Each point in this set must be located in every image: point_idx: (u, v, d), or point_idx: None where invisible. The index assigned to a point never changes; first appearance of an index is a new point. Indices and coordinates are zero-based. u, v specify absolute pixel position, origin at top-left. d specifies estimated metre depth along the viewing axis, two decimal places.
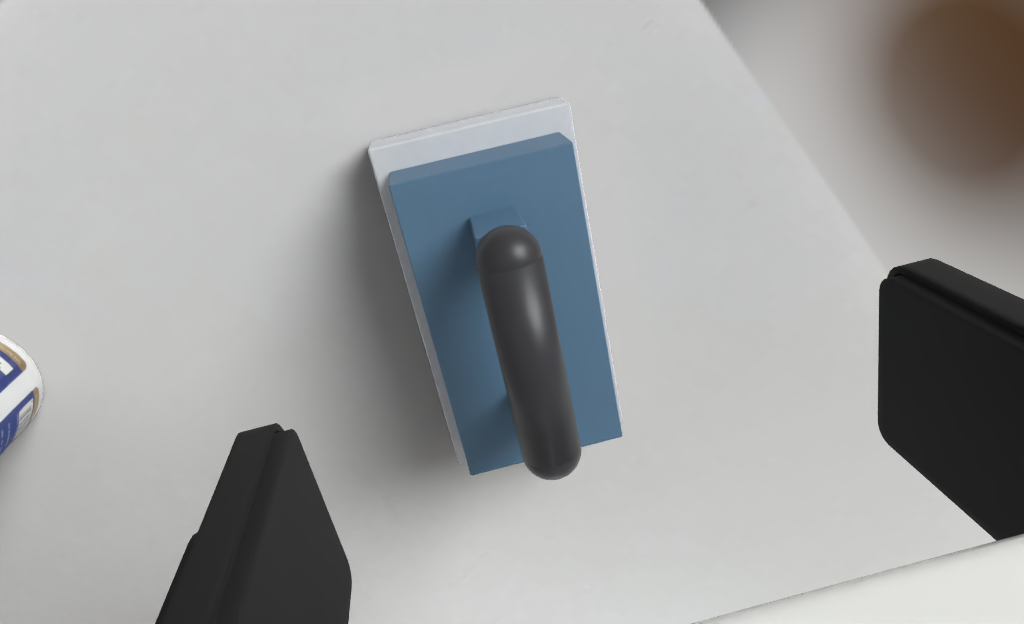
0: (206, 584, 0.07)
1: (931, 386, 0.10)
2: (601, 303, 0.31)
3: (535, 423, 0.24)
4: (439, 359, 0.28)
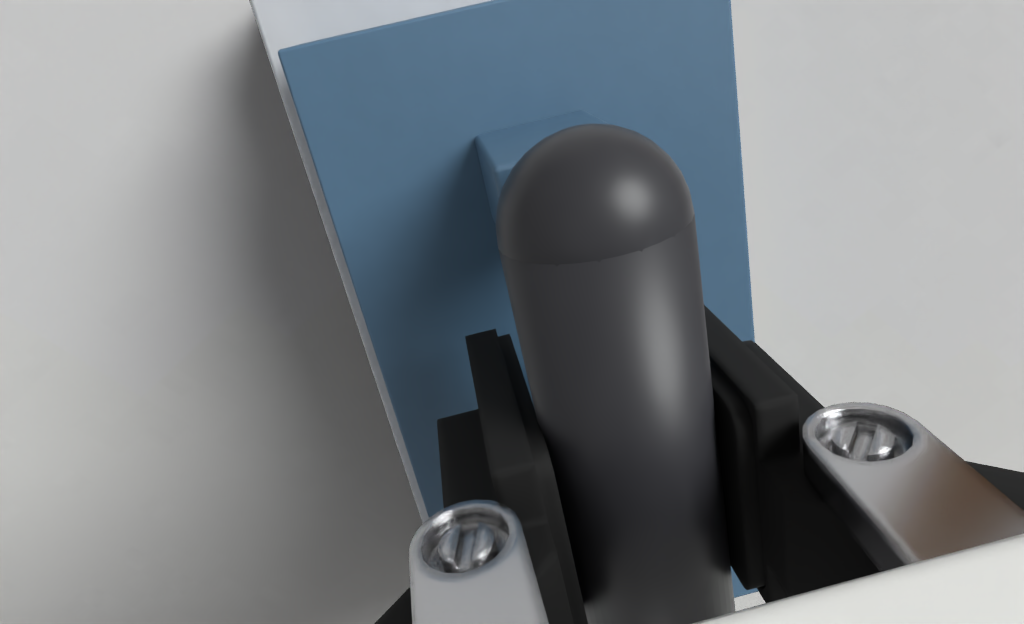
0: (510, 432, 0.08)
1: None
2: None
3: None
4: (411, 453, 0.13)
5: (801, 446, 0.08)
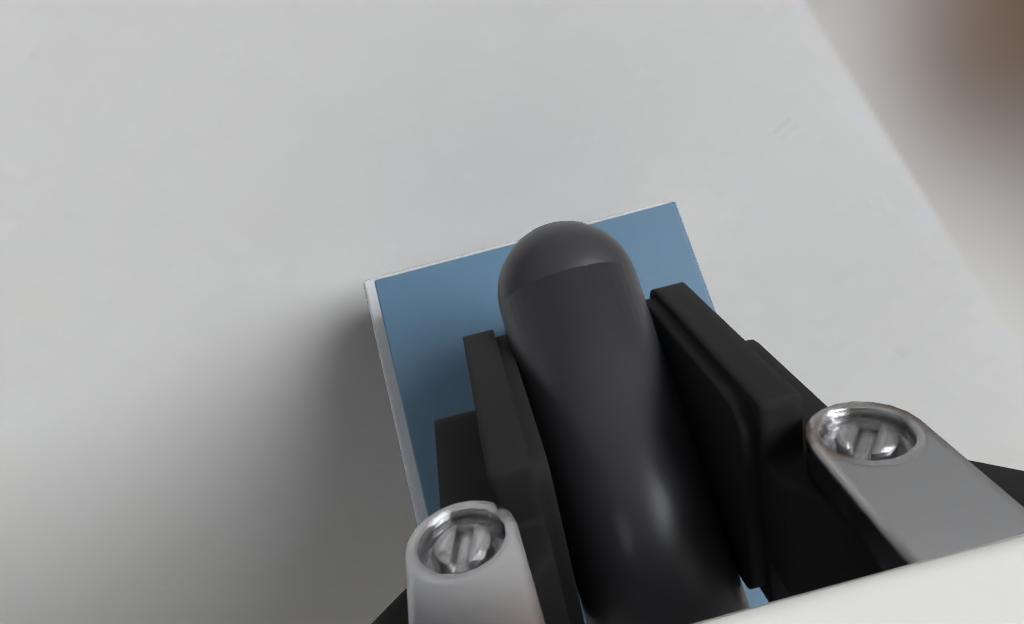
0: (507, 433, 0.08)
1: None
2: None
3: None
4: None
5: (804, 445, 0.08)
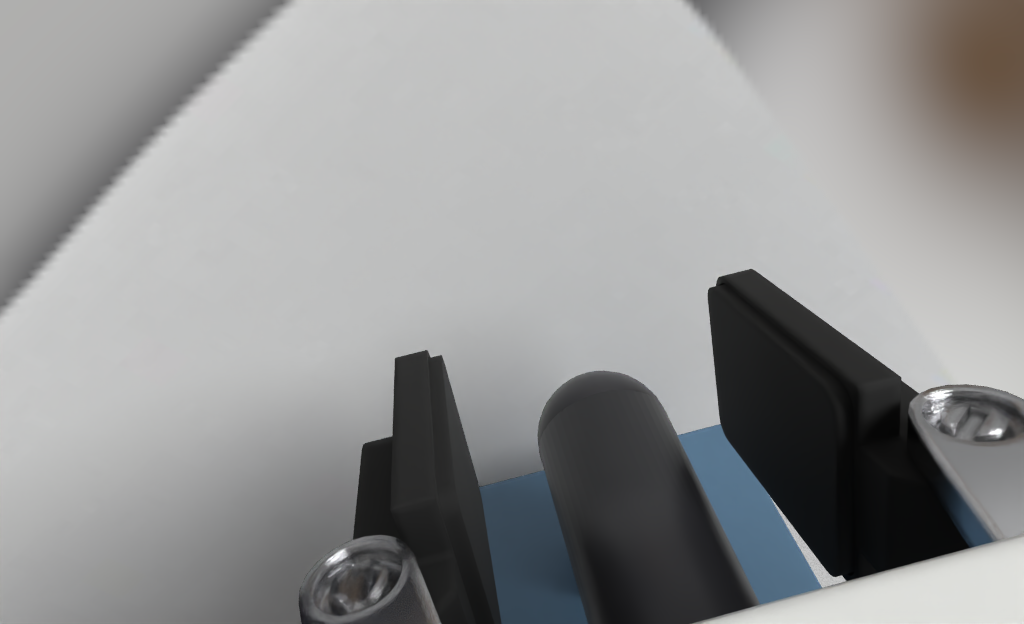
0: (419, 463, 0.08)
1: (744, 386, 0.11)
2: None
3: None
4: None
5: (900, 429, 0.08)
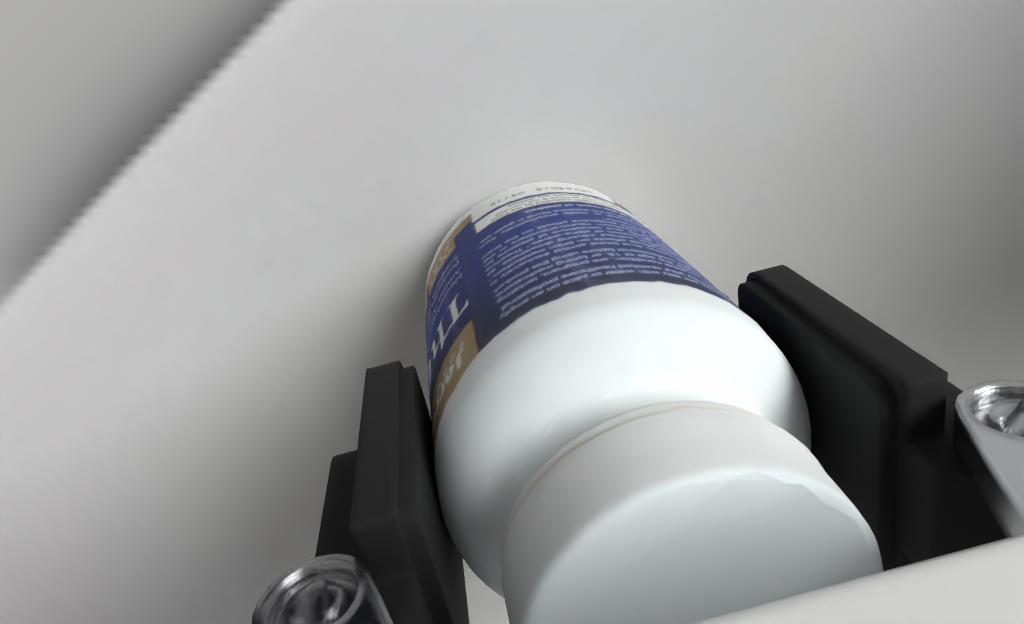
0: (381, 480, 0.08)
1: None
2: None
3: None
4: None
5: (944, 426, 0.08)
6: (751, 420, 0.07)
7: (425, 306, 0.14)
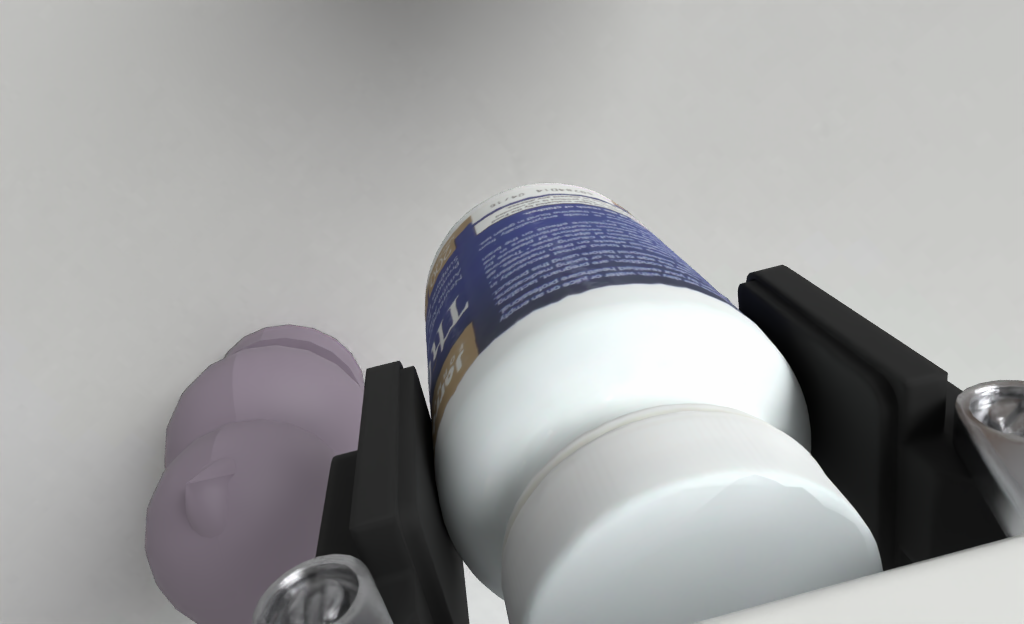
0: (381, 480, 0.08)
1: None
2: None
3: None
4: None
5: (944, 426, 0.08)
6: (751, 423, 0.07)
7: (425, 308, 0.14)
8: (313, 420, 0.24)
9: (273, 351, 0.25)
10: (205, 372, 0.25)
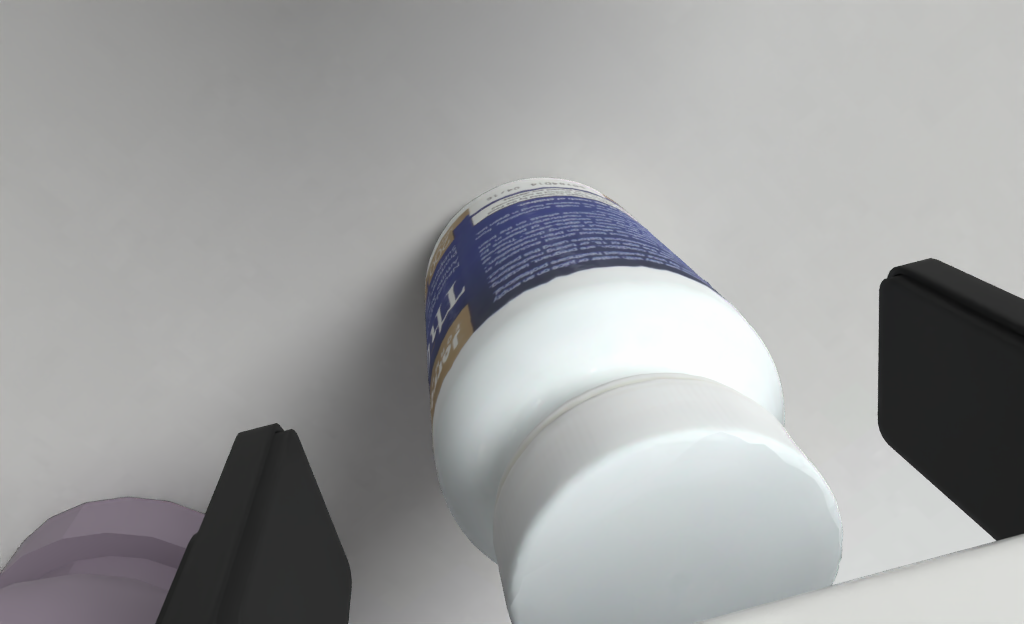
0: (206, 584, 0.07)
1: (931, 386, 0.10)
2: None
3: None
4: None
5: None
6: (721, 390, 0.08)
7: (425, 296, 0.15)
8: None
9: (37, 610, 0.13)
10: None
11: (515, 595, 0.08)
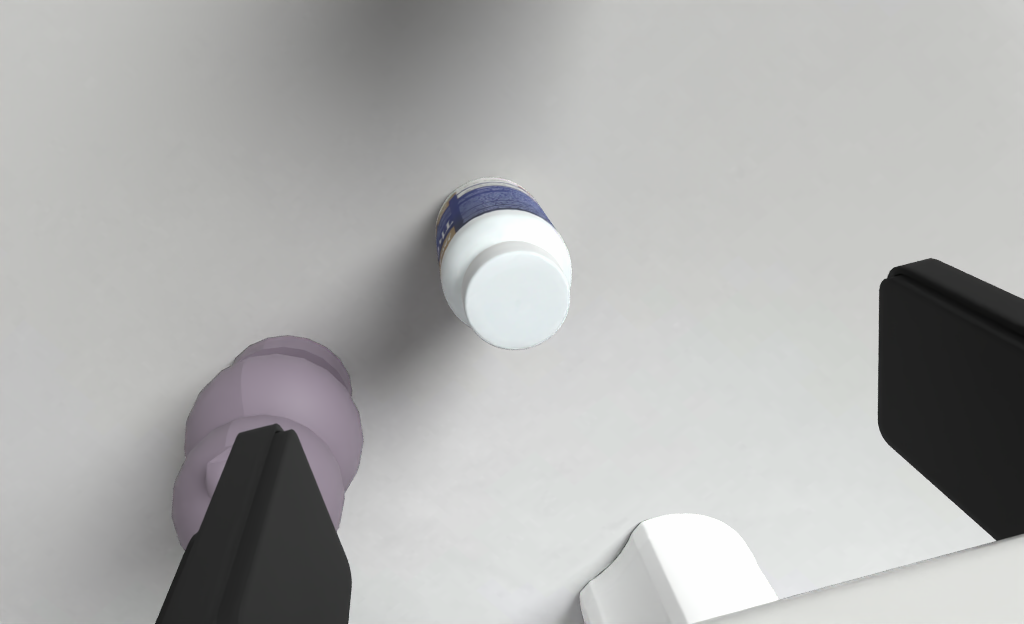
0: (206, 584, 0.07)
1: (931, 386, 0.10)
2: None
3: None
4: None
5: None
6: (532, 244, 0.26)
7: (436, 232, 0.33)
8: (307, 416, 0.30)
9: (274, 359, 0.31)
10: (218, 376, 0.31)
11: (466, 304, 0.26)
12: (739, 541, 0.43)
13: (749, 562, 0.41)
